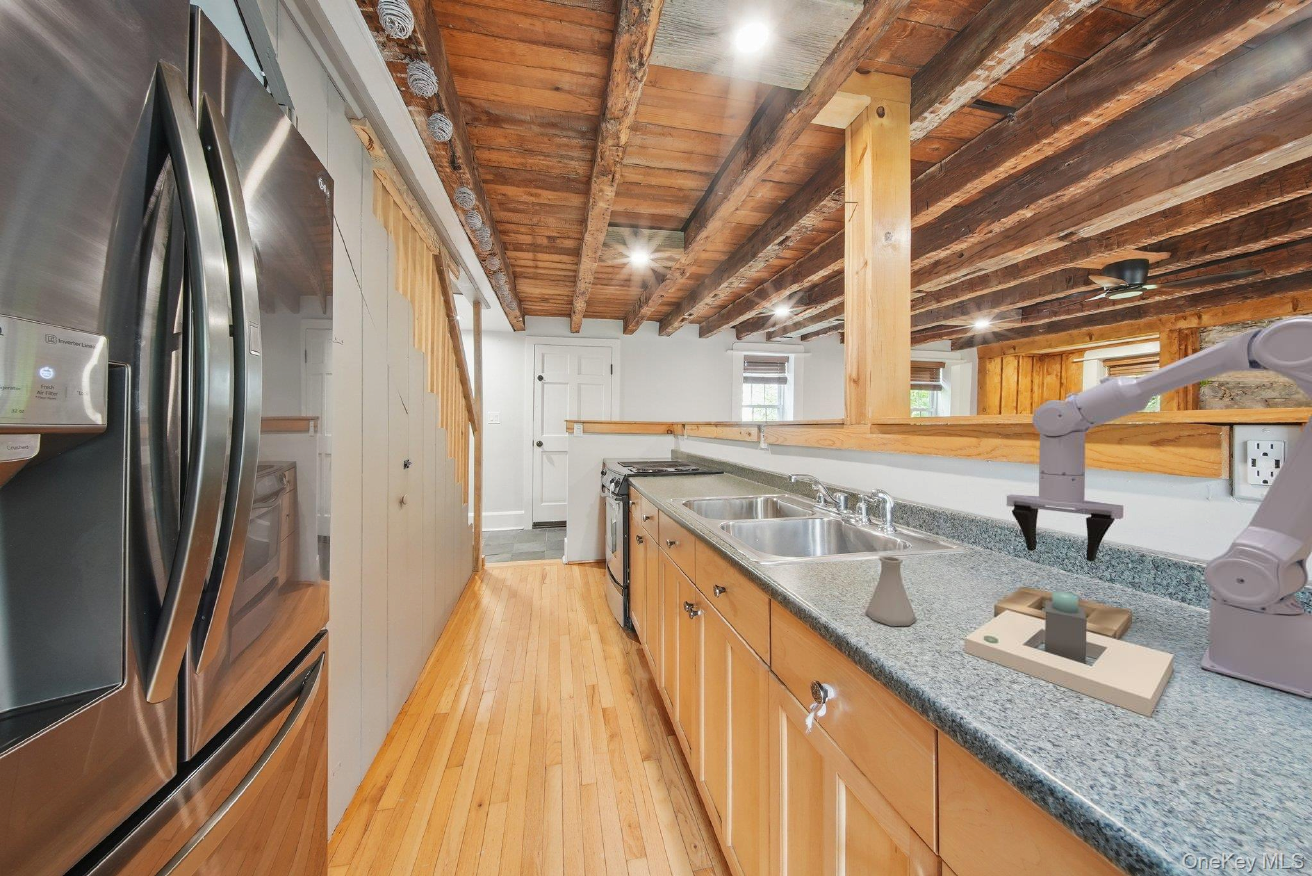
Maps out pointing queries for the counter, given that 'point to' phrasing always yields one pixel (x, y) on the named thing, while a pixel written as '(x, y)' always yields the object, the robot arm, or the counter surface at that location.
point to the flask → (890, 596)
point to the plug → (1065, 627)
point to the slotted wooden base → (1098, 615)
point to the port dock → (1113, 678)
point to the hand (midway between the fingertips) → (1060, 554)
